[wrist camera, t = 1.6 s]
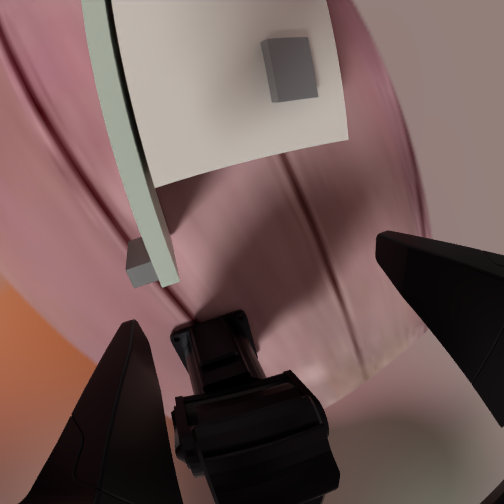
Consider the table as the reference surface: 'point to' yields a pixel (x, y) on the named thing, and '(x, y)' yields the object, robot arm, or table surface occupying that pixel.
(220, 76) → the camera case
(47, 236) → the table surface
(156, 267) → the side door
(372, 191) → the table surface
